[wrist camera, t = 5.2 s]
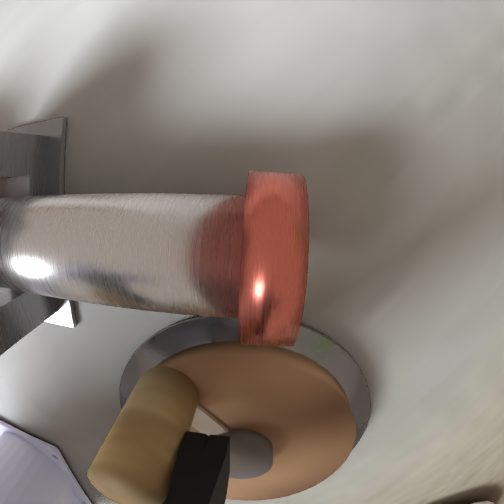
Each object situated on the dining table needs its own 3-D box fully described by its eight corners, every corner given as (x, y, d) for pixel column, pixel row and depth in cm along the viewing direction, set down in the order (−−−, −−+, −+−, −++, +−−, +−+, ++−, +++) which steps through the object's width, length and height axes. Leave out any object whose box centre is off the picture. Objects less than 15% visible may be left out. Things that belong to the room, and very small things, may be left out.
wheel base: (338, 485, 14) (339, 488, 14) (143, 471, 15) (142, 475, 14) (396, 316, 11) (399, 319, 11) (103, 298, 12) (100, 301, 11)
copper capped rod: (283, 305, 10) (293, 383, 6) (-8, 273, 10) (-70, 304, 6) (293, 174, 9) (315, 172, 5) (-16, 183, 10) (-85, 194, 5)
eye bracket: (208, 343, 12) (163, 485, 5) (24, 313, 12) (-67, 379, 6) (214, 104, 10) (141, 7, 3) (11, 130, 10) (-105, 126, 3)
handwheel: (384, 430, 12) (420, 527, 6) (234, 499, 14) (225, 580, 8) (249, 282, 11) (232, 402, 5) (95, 398, 13) (37, 485, 7)
